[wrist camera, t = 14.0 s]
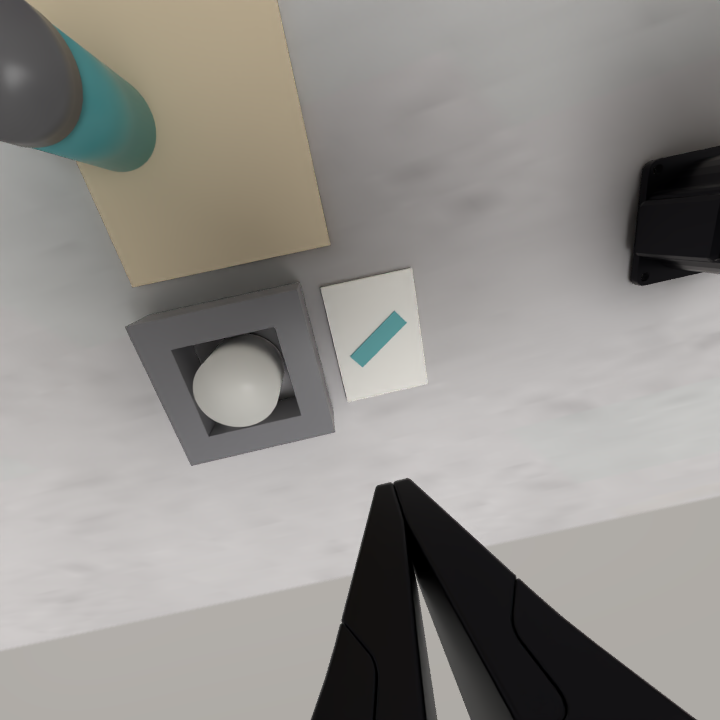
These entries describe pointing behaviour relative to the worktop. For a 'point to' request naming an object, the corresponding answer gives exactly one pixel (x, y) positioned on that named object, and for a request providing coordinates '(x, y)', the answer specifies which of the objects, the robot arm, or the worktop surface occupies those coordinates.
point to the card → (376, 333)
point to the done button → (240, 381)
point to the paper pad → (201, 135)
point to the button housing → (221, 320)
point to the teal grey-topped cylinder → (67, 96)
